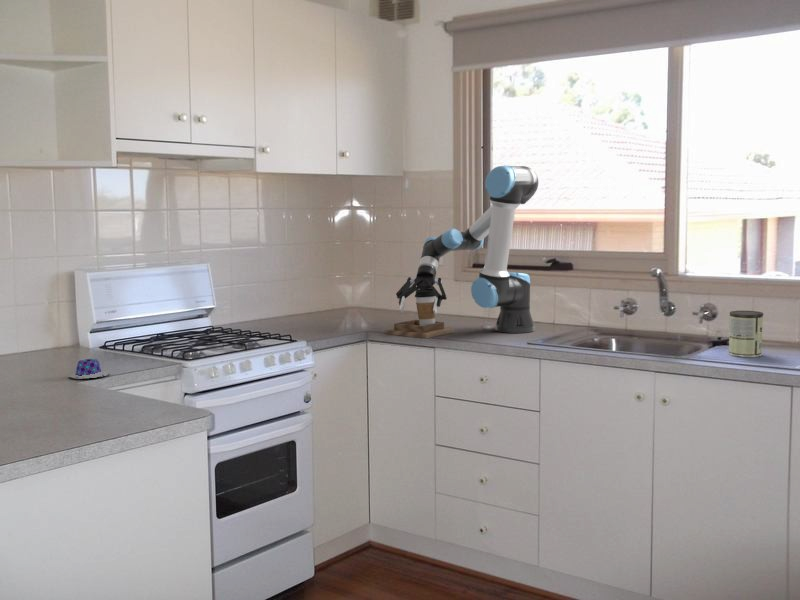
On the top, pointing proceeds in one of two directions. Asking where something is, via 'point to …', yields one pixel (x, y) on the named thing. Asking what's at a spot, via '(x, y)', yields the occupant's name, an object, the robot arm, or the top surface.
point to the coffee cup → (425, 306)
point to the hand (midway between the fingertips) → (417, 311)
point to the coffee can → (745, 333)
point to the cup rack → (418, 329)
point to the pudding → (87, 367)
